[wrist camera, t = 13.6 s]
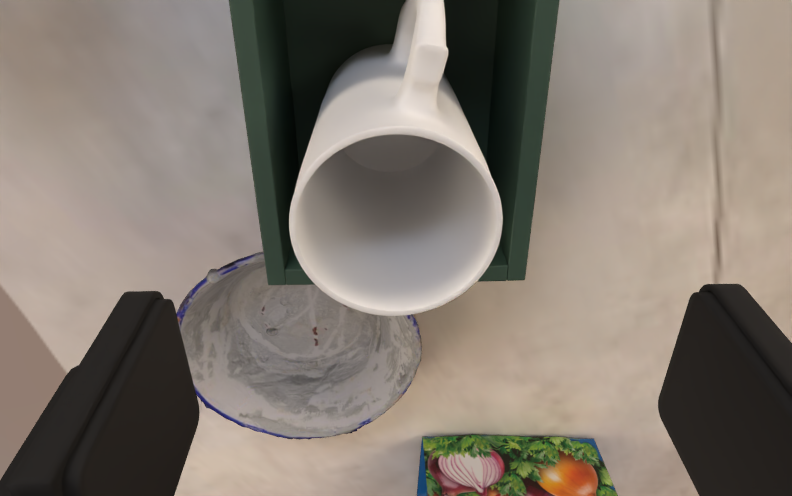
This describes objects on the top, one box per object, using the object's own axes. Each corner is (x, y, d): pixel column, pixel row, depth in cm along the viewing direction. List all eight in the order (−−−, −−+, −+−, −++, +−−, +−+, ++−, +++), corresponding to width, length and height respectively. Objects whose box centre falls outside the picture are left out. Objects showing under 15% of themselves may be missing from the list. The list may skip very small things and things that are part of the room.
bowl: (157, 325, 37) (129, 381, 33) (265, 164, 32) (248, 206, 28) (336, 413, 41) (332, 472, 37) (457, 283, 36) (468, 335, 32)
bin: (520, -99, 26) (571, -92, 19) (494, 200, 33) (525, 280, 26) (257, -97, 26) (216, -89, 19) (289, 204, 33) (267, 285, 26)
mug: (439, 184, 32) (470, 329, 21) (310, 160, 31) (277, 300, 20) (495, -22, 27) (570, 38, 16) (343, -58, 26) (321, -18, 15)
